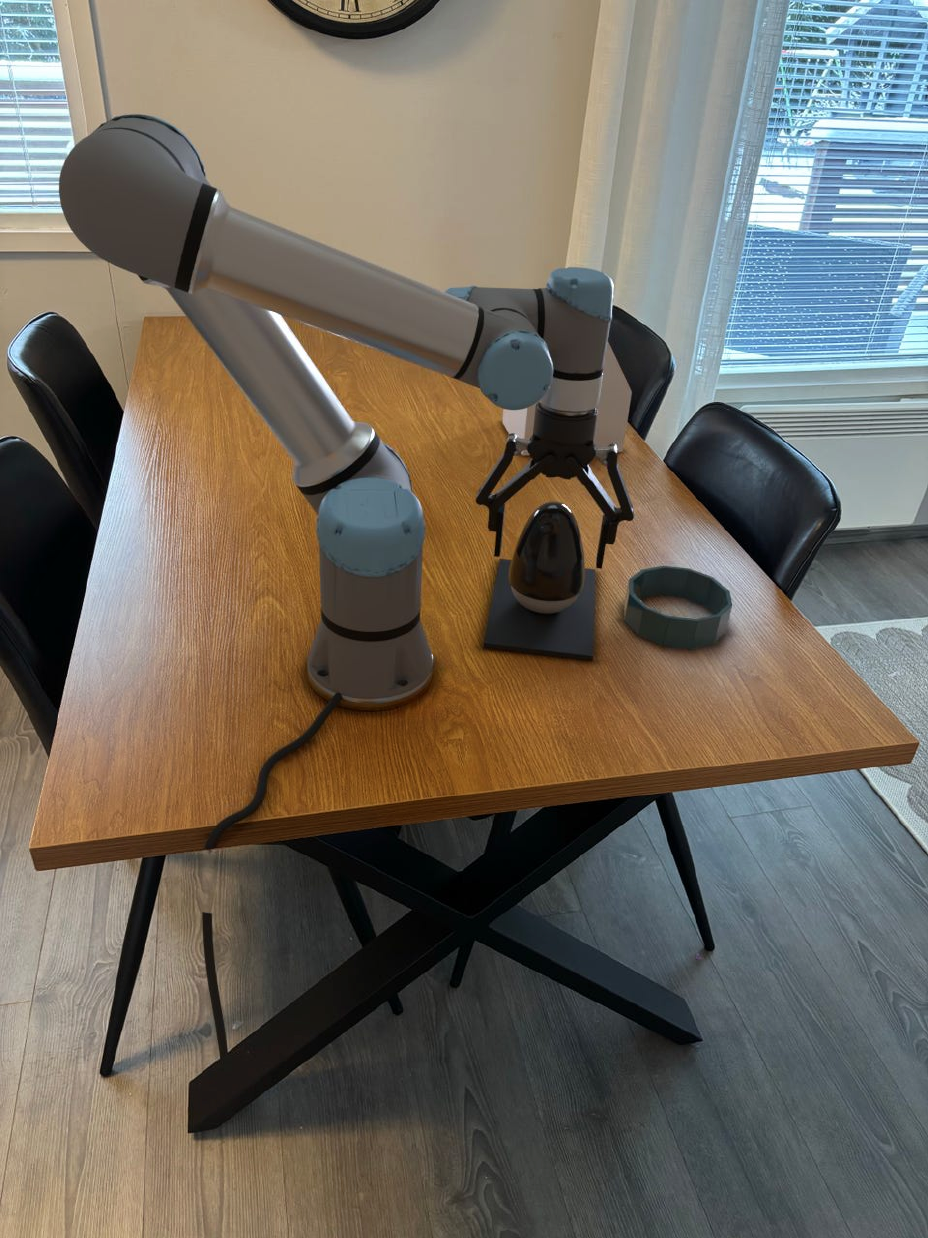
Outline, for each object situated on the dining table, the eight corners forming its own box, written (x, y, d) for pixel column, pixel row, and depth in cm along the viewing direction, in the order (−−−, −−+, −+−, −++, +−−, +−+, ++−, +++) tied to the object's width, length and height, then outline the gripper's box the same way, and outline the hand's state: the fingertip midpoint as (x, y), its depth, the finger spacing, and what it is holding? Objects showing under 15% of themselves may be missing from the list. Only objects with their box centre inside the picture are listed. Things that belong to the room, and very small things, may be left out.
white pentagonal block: (522, 455, 175) (535, 316, 161) (502, 422, 187) (513, 291, 173) (622, 451, 179) (643, 316, 165) (596, 419, 191) (614, 291, 177)
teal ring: (729, 654, 126) (736, 625, 123) (624, 642, 127) (629, 613, 124) (719, 599, 137) (726, 572, 134) (623, 588, 138) (628, 561, 135)
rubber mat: (592, 661, 123) (593, 656, 122) (483, 648, 124) (483, 643, 123) (594, 573, 141) (595, 569, 140) (499, 563, 142) (499, 558, 141)
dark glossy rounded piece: (497, 615, 129) (506, 514, 120) (516, 578, 137) (526, 480, 129) (572, 631, 126) (586, 529, 118) (586, 592, 135) (601, 494, 126)
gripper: (669, 403, 118) (641, 554, 130) (468, 383, 120) (459, 533, 132) (672, 426, 112) (643, 582, 124) (460, 405, 114) (451, 560, 125)
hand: (548, 557), depth 128 cm, fingers open, 13 cm apart
